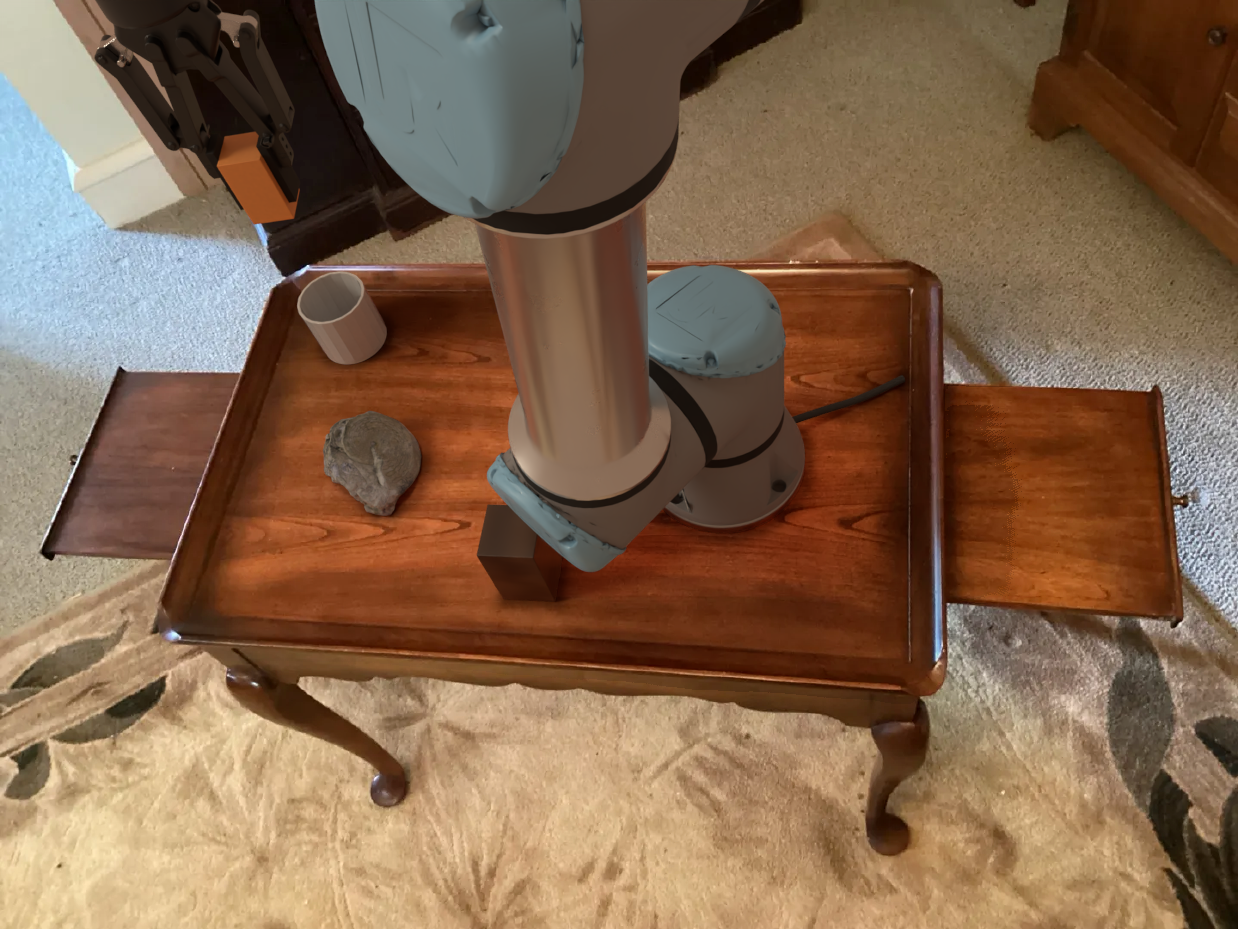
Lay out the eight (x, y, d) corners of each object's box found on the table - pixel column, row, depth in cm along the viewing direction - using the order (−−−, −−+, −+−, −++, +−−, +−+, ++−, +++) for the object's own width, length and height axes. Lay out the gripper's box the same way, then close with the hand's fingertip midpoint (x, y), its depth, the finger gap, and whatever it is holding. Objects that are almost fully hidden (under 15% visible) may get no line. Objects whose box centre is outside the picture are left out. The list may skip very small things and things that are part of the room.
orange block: (300, 189, 92) (266, 129, 86) (294, 218, 90) (259, 159, 84) (260, 195, 92) (224, 136, 86) (253, 224, 90) (216, 166, 84)
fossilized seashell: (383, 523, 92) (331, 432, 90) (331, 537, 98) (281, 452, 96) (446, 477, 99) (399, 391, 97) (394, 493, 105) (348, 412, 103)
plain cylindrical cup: (389, 309, 110) (367, 266, 105) (384, 359, 106) (360, 318, 101) (328, 318, 111) (302, 276, 105) (320, 368, 107) (292, 327, 101)
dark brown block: (563, 552, 90) (542, 505, 83) (555, 602, 88) (533, 557, 80) (512, 551, 91) (487, 503, 84) (503, 599, 88) (476, 555, 81)
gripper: (245, -96, 72) (362, 155, 91) (33, -56, 73) (192, 181, 93) (227, -39, 67) (354, 210, 87) (3, 1, 69) (176, 237, 89)
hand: (270, 195), depth 90 cm, fingers closed on orange block, 4 cm apart
